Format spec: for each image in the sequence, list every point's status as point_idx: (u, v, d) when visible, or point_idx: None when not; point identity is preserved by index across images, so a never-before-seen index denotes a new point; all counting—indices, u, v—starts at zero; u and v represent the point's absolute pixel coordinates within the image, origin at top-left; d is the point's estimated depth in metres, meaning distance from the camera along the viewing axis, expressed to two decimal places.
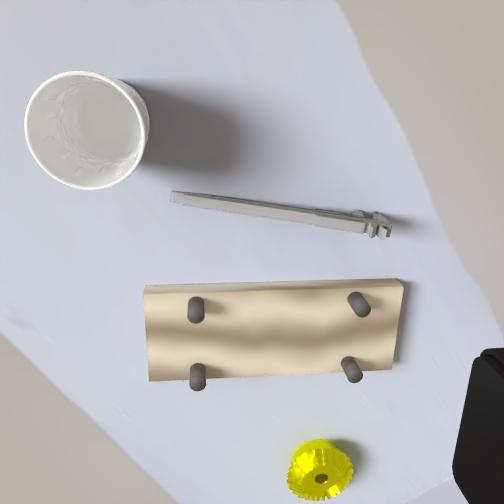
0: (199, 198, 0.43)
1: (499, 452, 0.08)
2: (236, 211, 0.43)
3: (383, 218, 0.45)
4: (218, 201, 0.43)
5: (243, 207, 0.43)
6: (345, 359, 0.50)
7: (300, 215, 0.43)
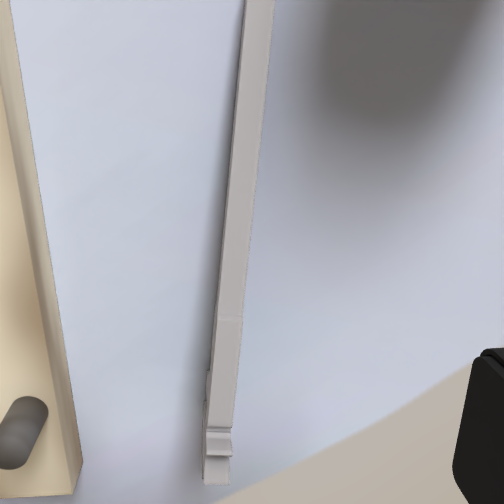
0: (269, 26, 0.17)
1: (499, 452, 0.08)
2: (239, 125, 0.17)
3: None
4: (263, 78, 0.17)
5: (251, 143, 0.17)
6: None
7: (238, 282, 0.18)
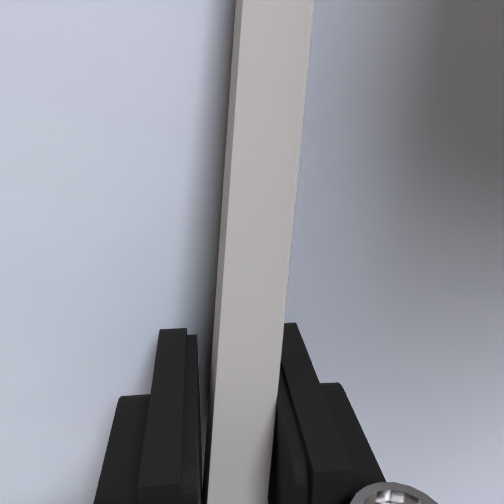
0: None
1: None
2: (238, 221, 0.07)
3: None
4: (294, 100, 0.07)
5: (267, 262, 0.07)
6: None
7: None
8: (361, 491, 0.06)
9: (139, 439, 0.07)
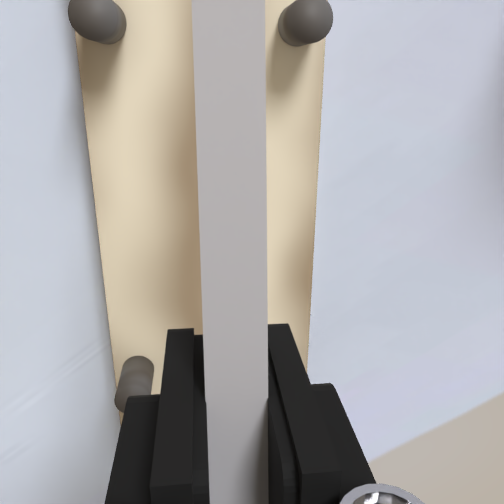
0: None
1: None
2: (211, 223, 0.07)
3: None
4: (255, 96, 0.07)
5: (244, 263, 0.07)
6: (149, 365, 0.24)
7: None
8: (350, 493, 0.06)
9: (148, 439, 0.07)
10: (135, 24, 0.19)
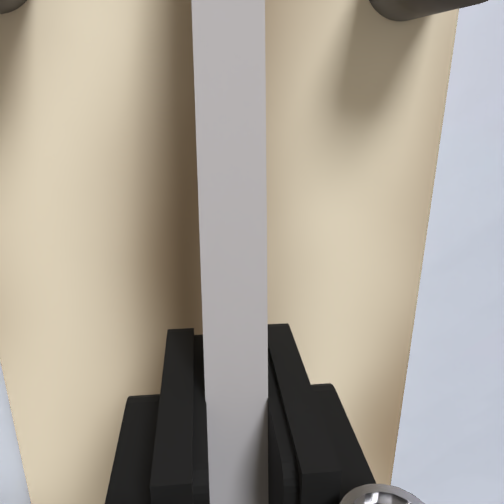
0: None
1: None
2: (210, 223, 0.07)
3: None
4: (254, 97, 0.07)
5: (244, 263, 0.07)
6: None
7: None
8: (350, 492, 0.06)
9: (148, 439, 0.07)
10: None
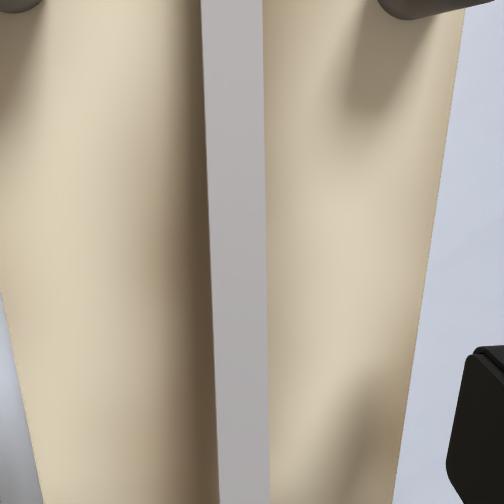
0: None
1: (491, 449, 0.08)
2: (218, 194, 0.08)
3: None
4: (254, 87, 0.08)
5: (246, 228, 0.08)
6: None
7: (255, 495, 0.09)
8: None
9: None
10: None
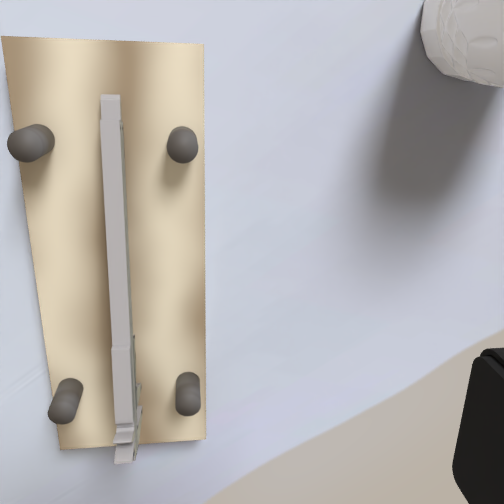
0: (118, 150, 0.25)
1: (499, 452, 0.08)
2: (108, 217, 0.25)
3: (139, 431, 0.30)
4: (119, 183, 0.25)
5: (118, 228, 0.25)
6: (79, 385, 0.31)
7: (123, 322, 0.26)
8: None
9: None
10: (61, 140, 0.26)
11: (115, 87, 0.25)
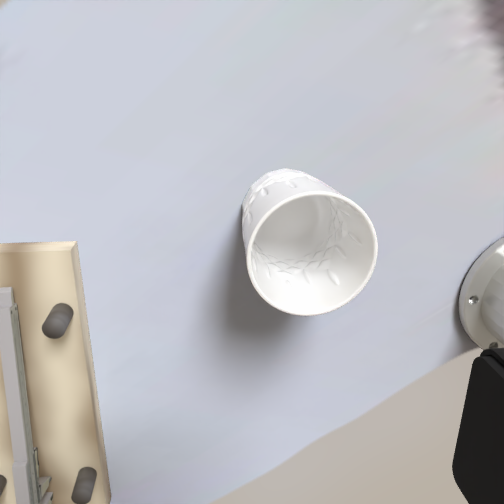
0: (10, 328, 0.34)
1: (499, 452, 0.08)
2: (5, 374, 0.35)
3: None
4: (12, 350, 0.35)
5: (13, 381, 0.35)
6: (2, 479, 0.41)
7: (21, 445, 0.36)
8: None
9: None
10: None
11: (8, 281, 0.35)
